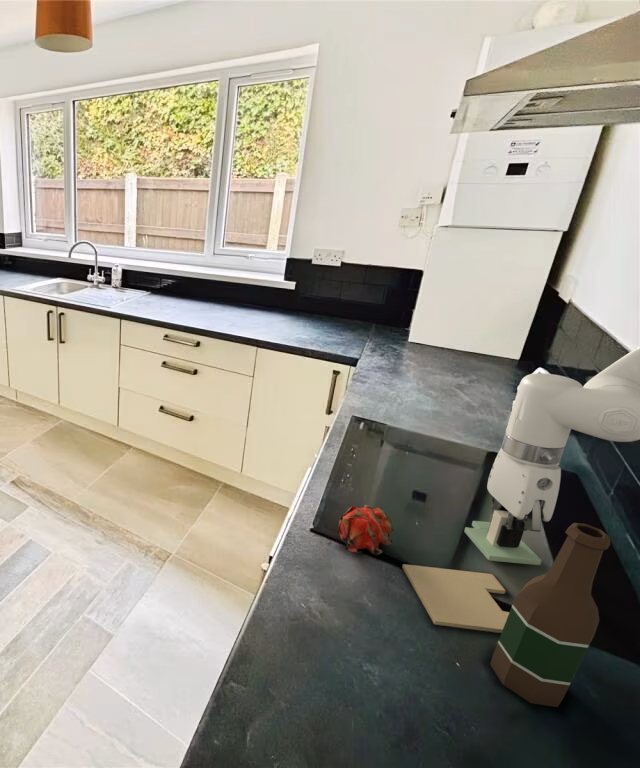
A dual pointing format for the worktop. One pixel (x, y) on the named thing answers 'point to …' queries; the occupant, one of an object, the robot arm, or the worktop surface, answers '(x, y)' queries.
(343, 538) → the dragon fruit
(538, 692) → the beer bottle
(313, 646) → the worktop surface
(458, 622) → the sand mat
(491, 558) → the sage pad
